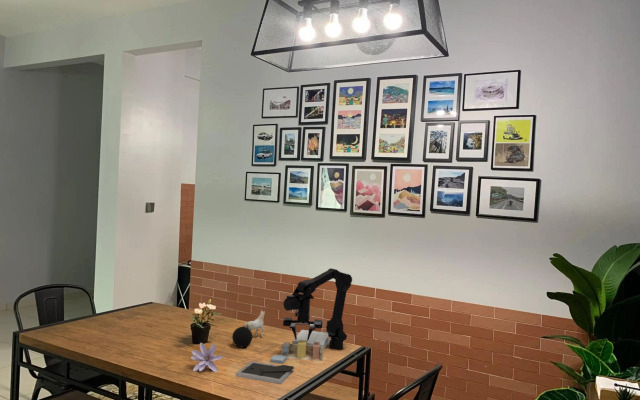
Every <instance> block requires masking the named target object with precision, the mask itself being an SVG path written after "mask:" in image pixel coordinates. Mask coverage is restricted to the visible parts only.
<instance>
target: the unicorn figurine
mask: <svg viewBox="0 0 640 400" xmlns="http://www.w3.org/2000/svg"><path fill="white" fill-rule="evenodd" d="M265 313H266V311H263V310H262V308H261V309H260V314H259V315H258V316H257V318H256V319H254V320H250V321H247V322H246V321H245V322H243V324H242V327H247V328H248V329H250V331H251V332H252V330H255V333H254V335H253V337H254V338H258V337H260V339H262V338H263V336H264V335H265V331H266V330H265V328H264V317H265ZM259 329H261V330H262V332H260V336H258V330H259Z"/></svg>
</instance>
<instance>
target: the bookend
mask: <svg viewBox="0 0 640 400" xmlns="http://www.w3.org/2000/svg"><path fill="white" fill-rule="evenodd" d="M283 343H284V344H283V350H282V349H281V352H282V356H287V357H289V353H290V344H291V342H288V341H287V342H286V341H285V342H283Z"/></svg>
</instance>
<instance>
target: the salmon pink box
mask: <svg viewBox="0 0 640 400" xmlns="http://www.w3.org/2000/svg"><path fill="white" fill-rule="evenodd" d="M319 351H320V342H314V344H313V358H312V359H319Z"/></svg>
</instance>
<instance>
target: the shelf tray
mask: <svg viewBox="0 0 640 400" xmlns="http://www.w3.org/2000/svg"><path fill="white" fill-rule="evenodd" d="M283 344H284V342H283V343H282V344H281V353H280V355H281V356H282V350H283ZM297 347H298V344H292V343H290V353H289V357H287V359H290V360H306V361H319V362H322V361H323V353H324V351H323V346H320V351H319V359H312V358H313V345H307V347H306V357H305V358H297Z"/></svg>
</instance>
